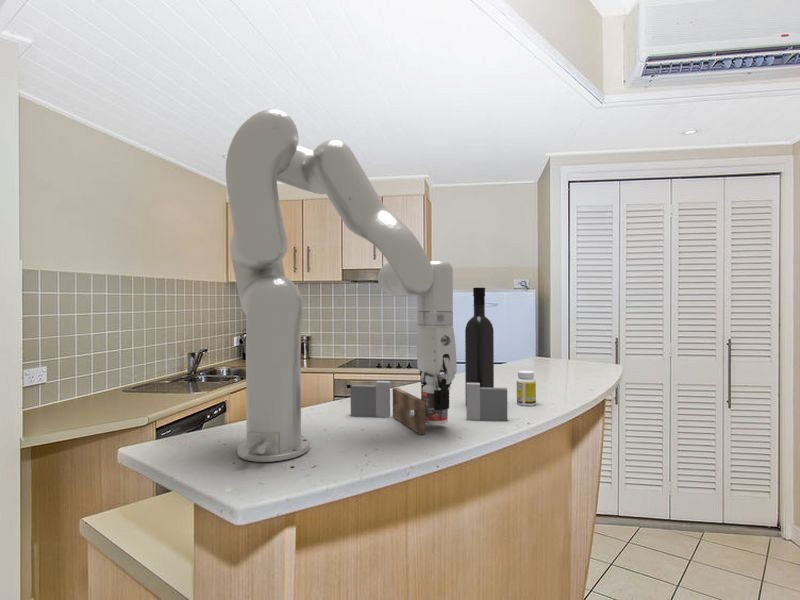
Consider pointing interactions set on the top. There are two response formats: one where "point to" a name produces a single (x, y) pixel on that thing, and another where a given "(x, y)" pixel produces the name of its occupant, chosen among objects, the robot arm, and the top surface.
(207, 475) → the top surface
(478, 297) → the wine bottle
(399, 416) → the door
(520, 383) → the supplement bottle
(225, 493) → the top surface
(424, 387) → the pill bottle
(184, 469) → the top surface
